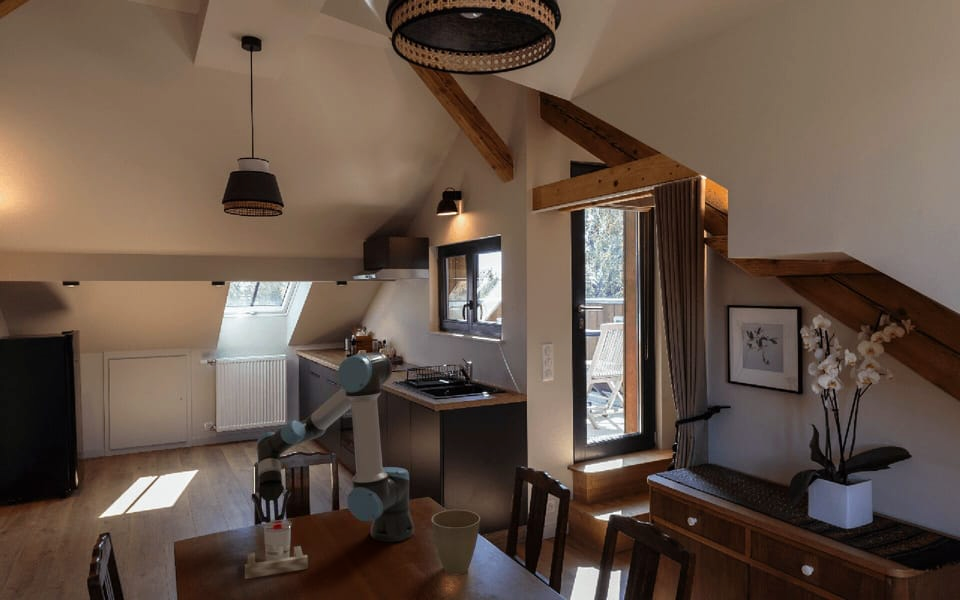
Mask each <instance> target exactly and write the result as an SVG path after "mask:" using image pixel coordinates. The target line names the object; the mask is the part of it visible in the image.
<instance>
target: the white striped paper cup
mask: <svg viewBox="0 0 960 600" xmlns="http://www.w3.org/2000/svg"><path fill="white" fill-rule="evenodd" d="M292 524H293V523H292V522H291V521H290V520H285V519H283V520H277V521H272V522H269V523H266V522H265V524H264V525H263V528H262V529H263V531H264V533H263V534H264V552H265V561H270V560H276V559H283V558H289V557H290V551H291V535H292V534H291V530H293V529H294V527H292Z"/></svg>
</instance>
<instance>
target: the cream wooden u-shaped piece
mask: <svg viewBox="0 0 960 600" xmlns="http://www.w3.org/2000/svg"><path fill="white" fill-rule="evenodd" d="M308 559H309V557H308V555H307V554H305V555H304V554H303V551H302V547H301V545H298V546H293V556H289V558H283V559H276V560H270V561H266V560H264V561H259V562H258V561H257V562H256V555H255V552H250V553H247V563H246V564H244V579H245V580H246V578H247V579H253V578H258V577H259V578H260V577H263V576H264V577H266V576H270V575H277V574H278V575H279V574H283V573H291V572H295V571H302V570H306V569H308V566H309V563H308V561H309V560H308Z"/></svg>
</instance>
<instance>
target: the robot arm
mask: <svg viewBox="0 0 960 600" xmlns="http://www.w3.org/2000/svg"><path fill="white" fill-rule="evenodd" d="M392 373H393V364H392V362H391V359H390V358H389V357H388V356H387V355H386V354H384V353H383V352H379V351H371V352H365V353H360V354H359V353H357V354H354V355H350V356H348V357H347V358H345V359H344V360H343V361H342V362H341V363H340V365H339V367H338V370H337V381H338V385H340V387H341V388H340V389H339V390H338V391H337V392H336V393H334V394H333V395H332V396H331V397H330V398H329V399H327V400H326V401H325V402H324V403H323V404H322V405H320V406H319V407H318V408H317V409H316V410H315V411H314V412H313V413H311V414H310V415H309V416H308V417H307V418H306V419H304V420H301V421H300V420H299V421H298V420H295V419H294V420H290V421H289V422H288V423H285V424H284V425H283V426H282V427H280V428H279V429H278V430H277V431H276V432H272V431H267V432H265V433H262V434H260V435H259V436H258V438H257V446H256V450H257V463H258V464H257V466H258V469H257V470H258V471H257V472H258V489H257V492H255V493H251V498H250V499H251V501H252V502H253V503H254V505H255V509H256V510H257V511H256V512H257V515H258V517H259V521H260V522H261V523H265V524H266V523H269V522H272V521H277V520H285V519H284V518H285V515H286V510H287V504H288V499H289V498H290V496H291V492H292V490H291V489H286V488H285V487H284V485H283V477H282V476H283V475H282V463H281V461H282V460H281V455H282V454H284V453H286V451H288V450H289V449H291V448H292V447H295V446H298V445H301V444H302V443H305V442H308V441H312V440H315V439H316V440H317V439H318V438H319V437H321V436H323V435H324V434H325V433H326V430H327V429H328V428H329V427H330V426H331V425H333V423H334V422H336V421H337V420H338V419H339V418H341V417H342V416H343V415H344V414H345V413H346V412H347V411H349V410H350V409H351V418H352V420H351V421H352V432H353V443H354V445H353V446H354V456H355V458H354V459H355V469H356V473H355V475H354V476H353V477H352V479H351V480H352V490H351V491H350V492H349V494H348V495H347V499H346V500H347V501H346V502H347V507H348V510H349V512H350V513H351V515H352V516H354V517H355V519H357V520H358V521H362V522H371V521H372V524H371V526H370V537H371V538H372V539H373V540H375V541H378V542H383V543H396V542H402V541H406V540H408V539H410V538H412V537H413V536H414V534H415V527H414V522H413V519H412V516H411V513H410V480H411V479H410V473H409V471H408V470H407V469H405V468H402V467H396V466H395V467H394V466H393V467H392V466H385V467H384V466H383V457H382V445H381V432H380V421H379V417H380V416H379V409H378V408H379V407H378V406H379V405H378V397H380V395H381V394H382V386H383V385H385V384H386V383H387V382H388V380H390V378H391V377H392ZM282 494H283V495H282ZM281 496H283V501H282V505H281V510H280V514H279V498H280V497H281ZM260 498H261V499H262V500H263V501H265V513H264V511H263V507H262V505H261V501H260ZM271 501H272V502H273V514H274V515H273V517H274V518H273V519H271V517H272V516H271ZM412 535H413V536H412ZM409 537H410V538H409ZM407 538H408V539H407ZM405 539H406V540H405Z"/></svg>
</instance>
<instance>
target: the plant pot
mask: <svg viewBox="0 0 960 600" xmlns="http://www.w3.org/2000/svg"><path fill="white" fill-rule="evenodd" d="M480 522H481V517H480V515H479V514H477V513H476V512H473V511H470V510H464V509H448V510H443V511H439V512H437V513H436V514H433V516H432V517H431V526H432V533H433V537H434V539H433V540H434V543H435V547H436V550H437V554H438V558H439V560H440V564H441V566H442V568H443V572H444V573H446V574H448V573H449V574H448V575H451V574H460V575H463V574H465V573H467V572H468V571H469V567H470V565H471V563H472V560H473V557H474V553H475V550H476V546H477V545H476V544H477V540H478V536H479V530H480ZM467 570H468V571H467ZM466 571H467V572H466ZM462 573H463V574H462Z"/></svg>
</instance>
